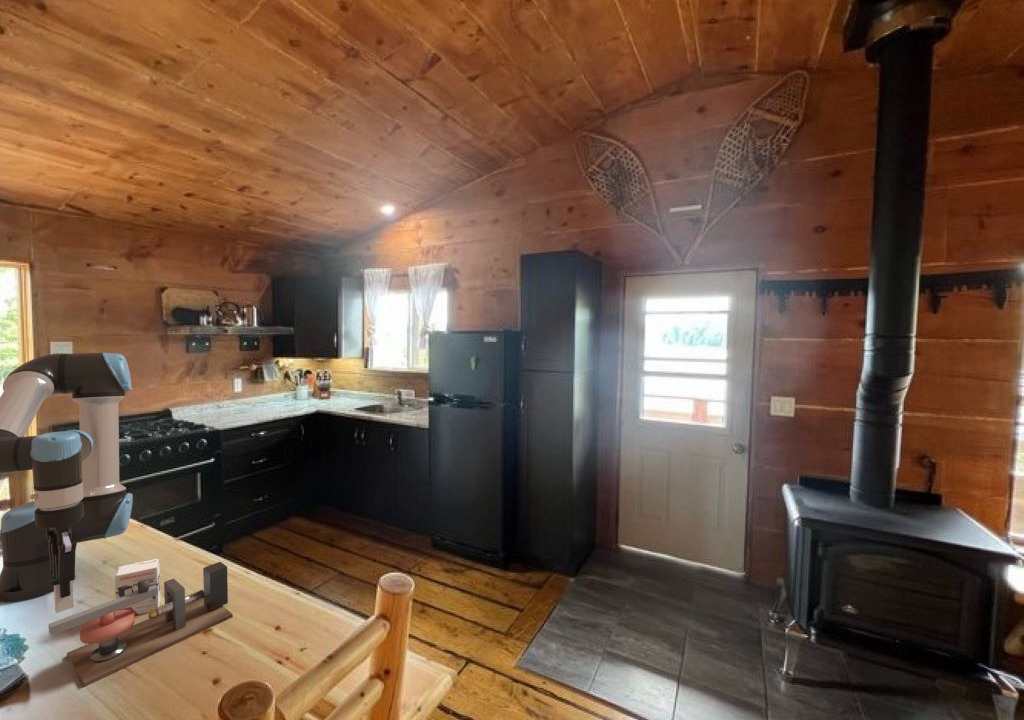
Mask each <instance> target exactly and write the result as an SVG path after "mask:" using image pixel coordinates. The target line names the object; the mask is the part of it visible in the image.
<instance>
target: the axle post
mask: <svg viewBox="0 0 1024 720" xmlns="http://www.w3.org/2000/svg"><path fill="white" fill-rule="evenodd" d="M126 647H127V644H126V642H125V641H118V637H115V638H113V639H110V640H107V641H104V642H100V643H99V647H98V648H97V649H95V650H94V651H93V652H92V653H91V656H90V659H91V661H92V662H97V663H98V662H104V661H108V660H111V659H113V658H115V657H117V656H119V655H120V654H122V653H123V652H124V651H125V650H126Z"/></svg>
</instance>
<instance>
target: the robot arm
mask: <svg viewBox="0 0 1024 720" xmlns="http://www.w3.org/2000/svg"><path fill="white" fill-rule="evenodd" d="M132 388H133V387H132V378H131V372H130V368H129V364H128V361H127V359H126V357H125V356H124V355H123V354H121V353H116V352H115V353H113V352H110V353H109V352H89V353H88V352H87V353H86V352H85V353H84V352H79V353H78V352H77V353H61V352H59V353H57V352H55V353H51V354H50V353H49V354H45V355H41V356H39V357H35V358H33V359H31V360H29V361H26V362H25V363H23V364H20V365H19V366H18V367H16V368H15V369H14V370H12V371H11V372H10V373H9V374H8V375H7V377H6V378H5V380H4V381H3V383H2V391H3V392H2V394H1V395H0V474H3V473H11V472H21V471H32V484H33V487H32V488H33V492H34V494H30V495H29V499H30V500H32V501H29V502H26V503H22V504H19V505H18V506H15V507H12V508H11V509H9V510H8V511H6V512H5V513H4V514H3V515H2V517H1V518H0V538H1V539H0V540H1V553H2V569H1V572H0V603H1V602H3V603H12V602H20V601H21V602H22V601H27V600H31V599H34V598H39V597H40V596H44V595H47V594H49V593H52V592H53V595H54V597H53V599H54V611H55V613H56V614H57V613H61V612H63V611H67V610H69V609H71V608H74V606H75V605H74V587H73V581H75V580H76V549H77V545H78V543H84V542H90V541H94V540H95V541H96V540H100V539H107V538H111V537H115V536H120V535H122V534H124V533H125V532H126V530H127V529H128V527H129V523H130V520H131V519H130V518H131V515H132V508H133V499H134V498H133V494H132V493H130V492H128V493H127V487H126V486H124V485H122V484H121V483H120V433H119V431H120V429H119V427H120V426H119V424H120V423H119V422H120V421H119V419H120V417H119V416H120V415H119V411H120V410H119V404H120V403H121V401H122V400H123V399H125V398H126V392H127V393H128V392H130V391H132ZM59 394H61V395H62V394H63V395H65V394H69V395H70V394H71V400H72V401H74V403H76V404H78V407H79V429H68V430H64V431H54V432H53V431H52V432H47V433H45V432H44V433H43V434H39V435H30V436H29V435H28V436H26V435H27V432H28V430H29V428H30V427H31V424H32V423H33V421H34V419H35V417H36V415H37V413H38V411H39V409H40V408H41V405H42V404H43V402H45V400H48V398H50V397H51V396H52V395H59Z"/></svg>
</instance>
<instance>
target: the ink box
mask: <svg viewBox="0 0 1024 720" xmlns="http://www.w3.org/2000/svg"><path fill="white" fill-rule="evenodd" d="M160 574H161V570H160V559H159V558H153V559H148V560H145V561H138V562H135V563H130V564H129V563H128V564H125V565H121V566H118V567H117V569H116V572H115V576H114V579H115V580H114V582H115V585H114V586H115V591H114V592H115V599H118V598H120V597H123V596H126V595H129V594H131V593H134V592H137V591H138V582H139V581H141V580H145V579H148V580H149V587H150V586H153V585H156V586H157V587H158V595H156V596H153V597H151V598H148V599H146V600H143V601H140V602H138V603H135V604H133V605H130V606H127V607H125V608H122V609H120V610H130V611H132V612H133V613H134V617H135V616H139V615H143V614H146V613H147V614H148V613H149V611H150V610H152V609H154V608H158V607H160V606H161V605H160V604H161V575H160Z"/></svg>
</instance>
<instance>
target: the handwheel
mask: <svg viewBox="0 0 1024 720" xmlns="http://www.w3.org/2000/svg"><path fill="white" fill-rule="evenodd" d="M156 595H158V587H157V586H156V585H153V586H150V587H149V580H148V579H145V580H141V581H139V582H138V591H137V592H134V593H131V594H129V595H126V596H123V597H120V598H118V599H116V598H115V599H113V600H110V601H107V602H105V603H104V602H103V604H99V605H97V606H94V607H91V608H88V609H85V610H83V611H81V612H78V613H74V614H72V615H69V616H67V617H64V618H61V619H58V620H56V621H54V622H50V623H48V634H49V635H50V636H51V637H52V636H54V635H57V634H60V633H62V632H65V631H68V630H70V629H73V628H76V627H77V626H81V625H82V626H81V627H80V629H79V640H80V642H81V643H83V644H86V645H87V644H93V643H100V642H104V641H107V640H110V639H113V638H115V637H118V636H120V635H121V634H123V633H125V632H126V631H128V630H129V629H130V628H131V627H132V626H133V625H135V616H134V613H133V612H132V611H130V610H120V609H122V608H125V607H127V606H130V605H133V604H135V603H138V602H140V601H143V600H146V599H148V598H151V597H153V596H156Z"/></svg>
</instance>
